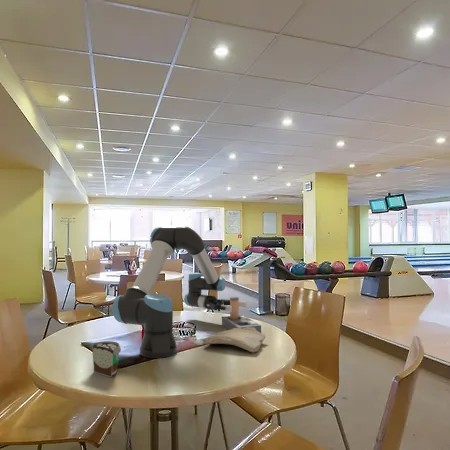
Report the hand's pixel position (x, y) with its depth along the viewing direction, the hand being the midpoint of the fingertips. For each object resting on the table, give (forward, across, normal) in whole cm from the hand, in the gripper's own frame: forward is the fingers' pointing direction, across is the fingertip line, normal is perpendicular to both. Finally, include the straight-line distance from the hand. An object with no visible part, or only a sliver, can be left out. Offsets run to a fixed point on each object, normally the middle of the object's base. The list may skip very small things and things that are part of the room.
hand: (238, 306), depth 191 cm
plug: (-3, 0, -11) cm, 11 cm away
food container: (-2, +78, -11) cm, 79 cm away
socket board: (+3, +2, -10) cm, 11 cm away
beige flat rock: (+16, +26, -11) cm, 32 cm away
